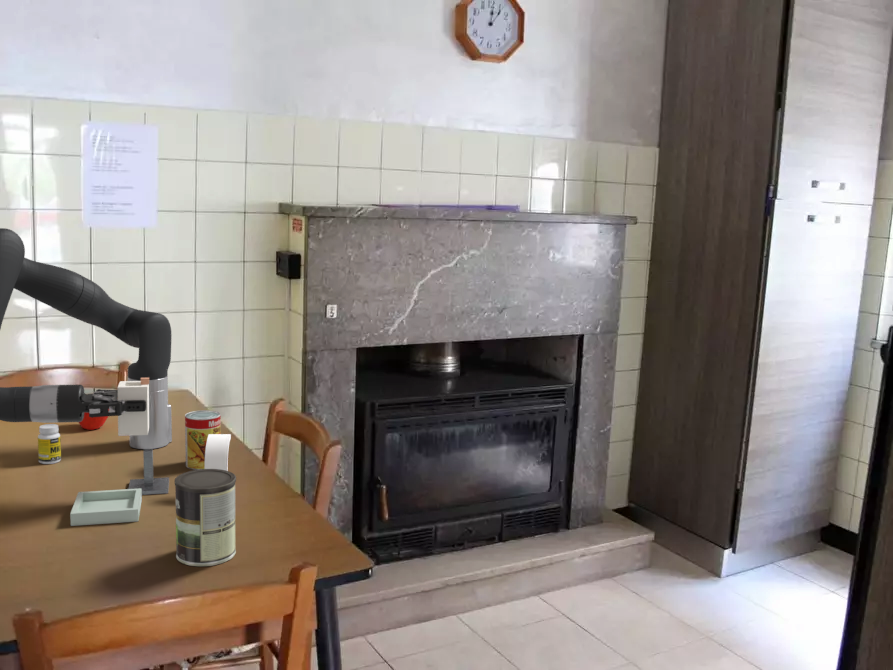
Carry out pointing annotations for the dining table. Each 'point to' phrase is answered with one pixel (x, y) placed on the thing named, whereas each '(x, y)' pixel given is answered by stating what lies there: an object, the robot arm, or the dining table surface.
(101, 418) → the apple
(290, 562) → the dining table surface
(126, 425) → the open-top white box
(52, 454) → the supplement bottle
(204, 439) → the canned food
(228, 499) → the coffee can
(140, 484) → the post
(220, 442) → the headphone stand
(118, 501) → the tray
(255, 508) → the dining table surface
